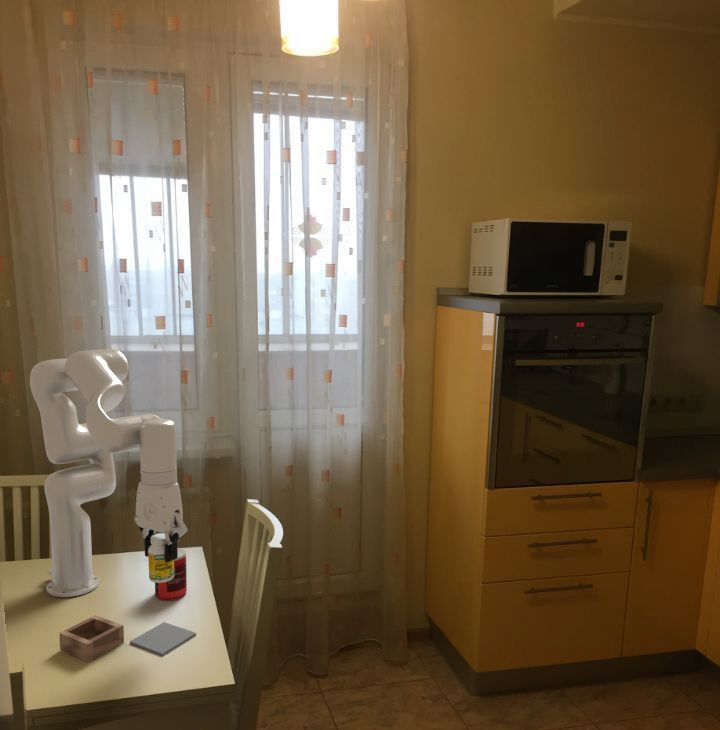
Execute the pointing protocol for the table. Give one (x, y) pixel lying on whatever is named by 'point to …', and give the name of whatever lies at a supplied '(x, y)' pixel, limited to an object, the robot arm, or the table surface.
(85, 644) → the sleeve holder
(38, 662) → the table surface
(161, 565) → the supplement bottle
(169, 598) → the canned food
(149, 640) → the rubber mat
